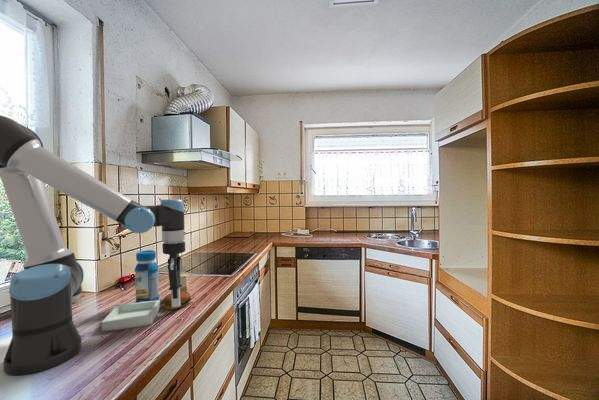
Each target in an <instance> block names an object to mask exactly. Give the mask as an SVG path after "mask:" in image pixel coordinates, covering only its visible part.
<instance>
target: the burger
mask: <svg viewBox="0 0 599 400" xmlns="http://www.w3.org/2000/svg"><path fill="white" fill-rule="evenodd" d="M191 301H192V298H191V294H190V293H189V291H188V292H187V291H180V306H179V307H172V300H171V292H170V293H168V294H166V295H165V296H164V297H163V299H162V308H163V309H165V310H168V311H171V310H176V309H180V308H183V307H186V306H187V305H189V304H190V302H191Z"/></svg>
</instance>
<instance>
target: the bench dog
mask: <svg viewBox="0 0 599 400" xmlns="http://www.w3.org/2000/svg"><path fill="white" fill-rule="evenodd" d="M180 281H181V283H180V285H181V284H182V287H180V291H187V292H188V293H189V273H188V271H187V272H180Z"/></svg>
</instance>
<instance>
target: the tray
mask: <svg viewBox="0 0 599 400" xmlns="http://www.w3.org/2000/svg"><path fill="white" fill-rule="evenodd" d="M160 310H161V299H159V300H155V301H147V302H138V303H136V302H132V303H131V302H130V303H122V304H117V305H116V306H115V307H113V309H112V310H111V311H110V312H109V313H108V314H107V316H105V318H104V319H103V320H102V321H101V332H102V333H104V332H109V331H110V332H111V331H119V330H124V329H132V328H140V327H146V326H147V327H148V326H152V325H153V323H154V321H155V319H156V317H157V315H158V314H159V311H160Z"/></svg>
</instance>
